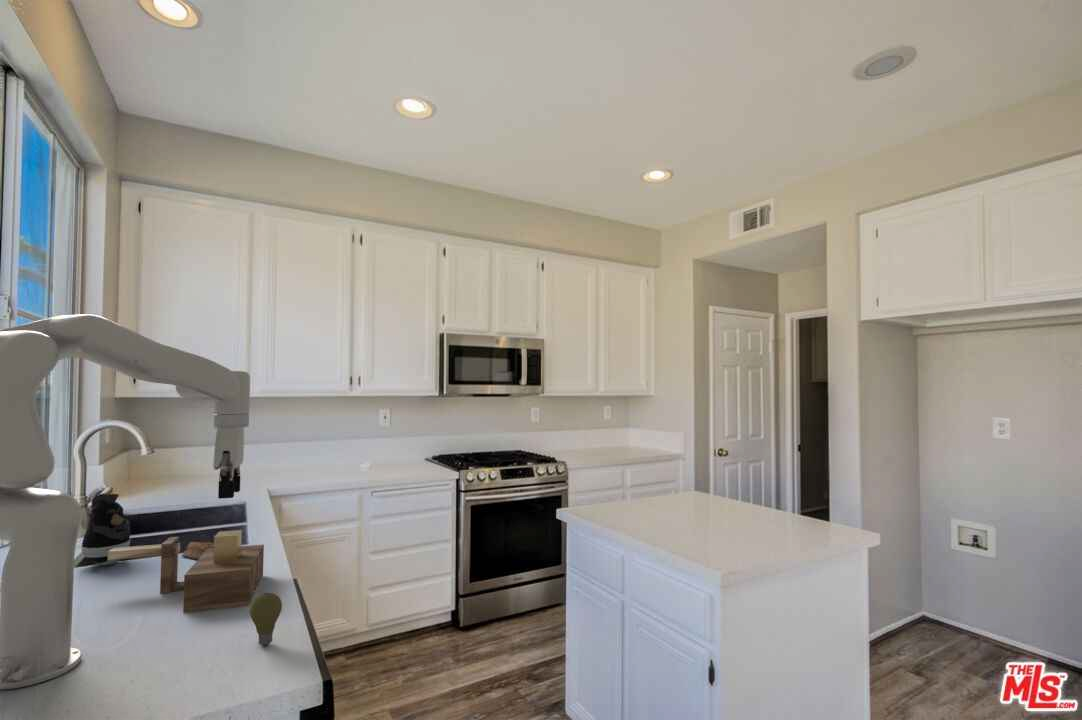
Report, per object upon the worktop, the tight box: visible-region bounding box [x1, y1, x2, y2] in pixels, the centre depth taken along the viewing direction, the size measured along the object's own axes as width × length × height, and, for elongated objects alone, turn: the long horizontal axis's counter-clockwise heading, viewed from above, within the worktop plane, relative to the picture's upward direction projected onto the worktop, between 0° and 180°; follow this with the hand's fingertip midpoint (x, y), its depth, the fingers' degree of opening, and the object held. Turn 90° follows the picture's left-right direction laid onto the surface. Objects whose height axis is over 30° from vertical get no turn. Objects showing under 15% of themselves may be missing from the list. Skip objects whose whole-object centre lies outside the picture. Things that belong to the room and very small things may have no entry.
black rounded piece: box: [80, 492, 131, 566], centre depth 152 cm, size 11×11×20 cm
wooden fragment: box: [181, 541, 214, 560], centre depth 164 cm, size 26×11×1 cm, turn 40°
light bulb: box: [249, 592, 283, 647], centre depth 107 cm, size 6×6×10 cm
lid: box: [183, 529, 265, 581], centre depth 133 cm, size 20×13×8 cm, turn 19°
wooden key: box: [108, 542, 181, 560], centre depth 134 cm, size 3×14×2 cm, turn 109°
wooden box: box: [159, 536, 265, 614], centre depth 132 cm, size 20×22×12 cm
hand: (229, 494), depth 134 cm, fingers open, 6 cm apart
